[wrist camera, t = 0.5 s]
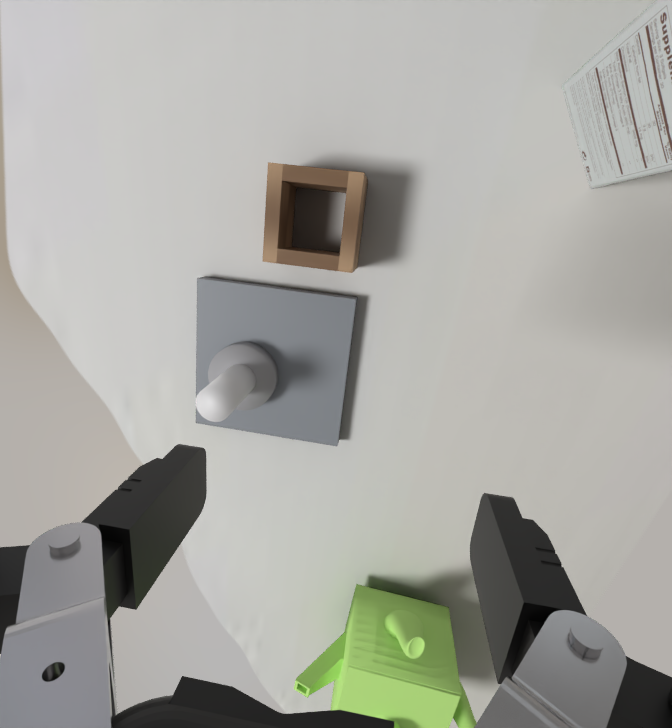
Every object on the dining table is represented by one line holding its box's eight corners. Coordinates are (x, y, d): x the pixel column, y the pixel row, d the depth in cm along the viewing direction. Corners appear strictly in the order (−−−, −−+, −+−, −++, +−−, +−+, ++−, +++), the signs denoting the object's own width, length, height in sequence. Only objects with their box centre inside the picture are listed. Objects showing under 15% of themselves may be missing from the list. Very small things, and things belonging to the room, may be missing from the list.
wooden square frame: (284, 171, 32) (268, 162, 28) (368, 180, 31) (364, 172, 27) (278, 257, 34) (262, 261, 30) (357, 267, 33) (351, 272, 29)
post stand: (203, 276, 35) (149, 288, 27) (357, 297, 34) (346, 316, 26) (201, 417, 39) (154, 462, 31) (338, 439, 38) (325, 492, 30)
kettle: (413, 542, 40) (421, 653, 30) (491, 642, 43) (525, 778, 32) (293, 602, 44) (262, 719, 34) (371, 690, 47) (365, 825, 36)
